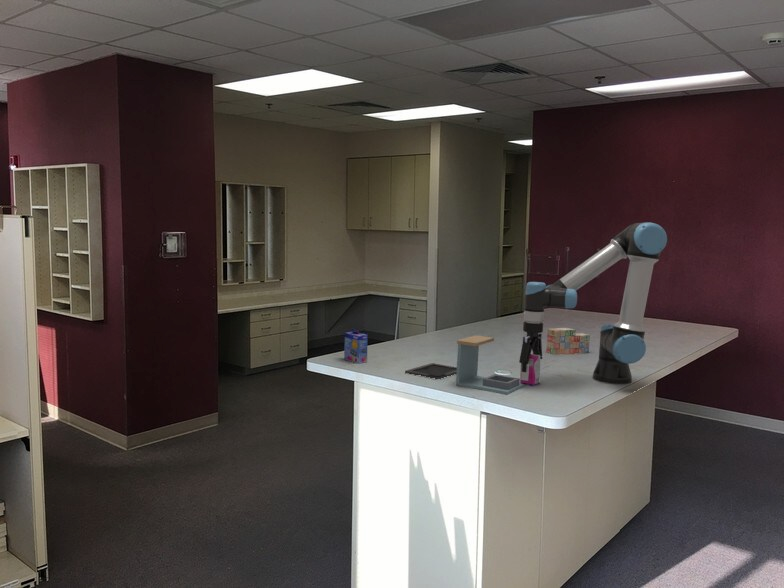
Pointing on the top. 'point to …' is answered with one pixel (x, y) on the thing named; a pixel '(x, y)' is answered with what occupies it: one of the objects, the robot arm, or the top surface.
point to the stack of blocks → (566, 341)
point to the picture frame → (433, 371)
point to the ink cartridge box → (355, 346)
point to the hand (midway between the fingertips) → (529, 377)
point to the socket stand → (469, 367)
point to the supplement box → (533, 371)
